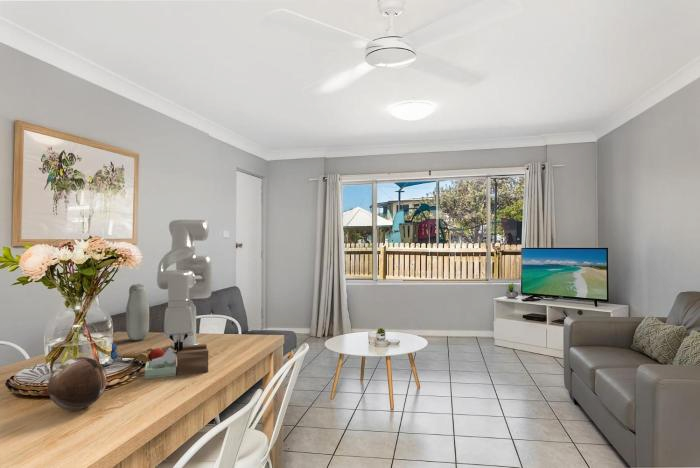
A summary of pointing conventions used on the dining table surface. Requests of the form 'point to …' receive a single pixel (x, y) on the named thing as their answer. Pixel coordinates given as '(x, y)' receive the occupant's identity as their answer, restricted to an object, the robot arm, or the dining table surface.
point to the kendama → (146, 355)
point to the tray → (160, 370)
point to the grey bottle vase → (137, 313)
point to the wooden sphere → (77, 383)
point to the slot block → (192, 359)
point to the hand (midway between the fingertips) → (178, 351)
